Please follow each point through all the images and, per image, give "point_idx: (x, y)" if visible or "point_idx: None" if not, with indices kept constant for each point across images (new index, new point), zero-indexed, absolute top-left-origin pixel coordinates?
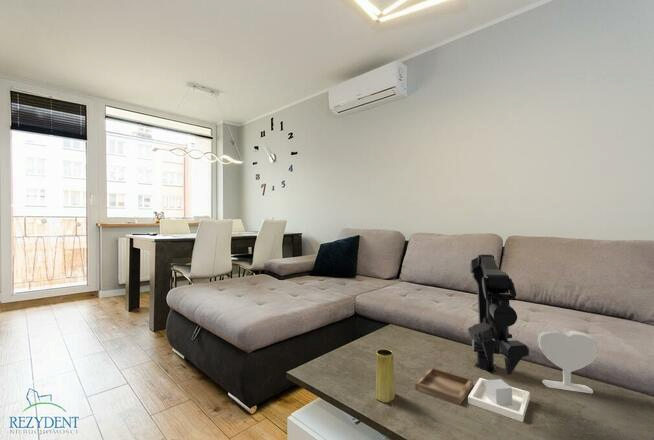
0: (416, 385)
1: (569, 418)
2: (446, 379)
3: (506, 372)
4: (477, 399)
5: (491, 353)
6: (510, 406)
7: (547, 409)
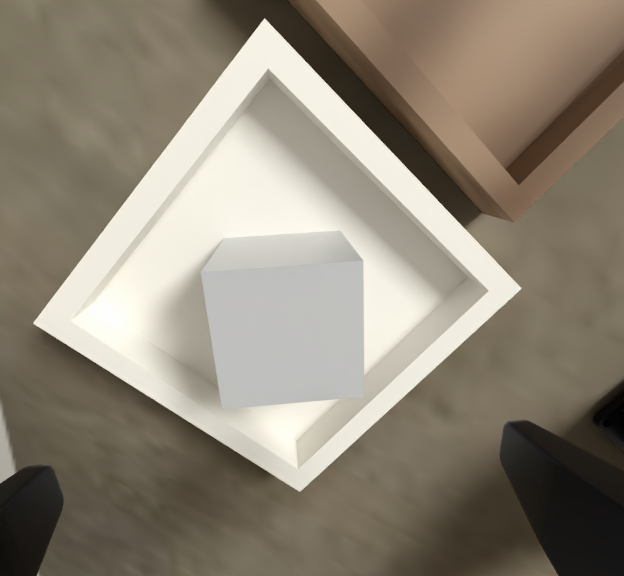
0: None
1: (144, 529)
2: (620, 26)
3: (25, 481)
4: (218, 90)
5: (571, 568)
6: None
7: (215, 485)
